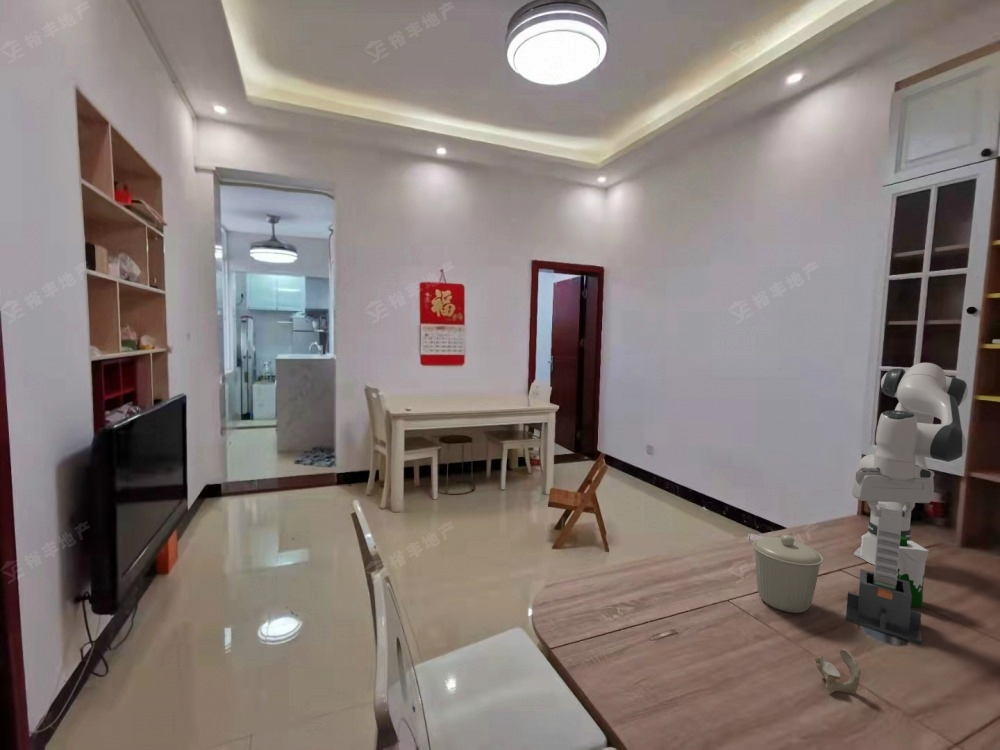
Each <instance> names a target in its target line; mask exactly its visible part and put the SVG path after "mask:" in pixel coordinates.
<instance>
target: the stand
mask: <svg viewBox="0 0 1000 750" xmlns="http://www.w3.org/2000/svg"><path fill="white" fill-rule="evenodd" d="M859 570H860V571H859V582H858V583H859V585H858V593H855V592H851V591H847V597H846V598H847V599H846V600H847V601H846V611H845V621H847V622H849V623H853V624H856V625H859V626H861V627H865V628H869V629H871V630H875V631H878V632H881V633H882V634H883V633H884V634H886V635H889V636H894V637H896V638H900V639H901V640H905V641H908V642H911V643H915V644H918V645H923V638H922V632H921V617H922V612H920V611H916V610H913V609H912V606H911V601H912V595H911V589H910V583H909V581H905V580H901V579H897V584H896V590H892V589H889V588H885V587H881V586H878V585H874V584H873V580H874V571H870V570H866V569H863V568H860V569H859Z"/></svg>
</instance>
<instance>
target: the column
mask: <svg viewBox="0 0 1000 750" xmlns="http://www.w3.org/2000/svg"><path fill="white" fill-rule="evenodd" d="M879 510H880V511H881V516H880V517H878V529H877V542H876V555H875V565H874V569H873V572H874V580H873V584H874V585H878V586H881V587H885V588H889V589H892V590H896V584H897V571H898V559H899V547H900V535H901V523H902V508H901V507H896V506H890V505H885V504H879Z"/></svg>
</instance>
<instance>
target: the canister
mask: <svg viewBox="0 0 1000 750" xmlns="http://www.w3.org/2000/svg"><path fill="white" fill-rule="evenodd" d="M751 545H752V547H753V549H754V558H755V559H754V561H755V563H754V564H755V576H756V577H755V578H756V588H757V592H758V595H759V597H760V599H761V600H762V601H763V602H764V603H766V605H768V606H770V607H773V608H774V609H777V610H779V611H782V612H786V613H793V614H800V613H805V612H806V611H808V609H810V607H811V605H812V603H813V599H814V594H815V590H816V585H817V582H818V581H817V580H818V576H819V572H820V568H821V564H823V563H824V557H823V556H822V555H821V553H820V552H818V551H816V550H815V549H814V548H812V547H811V546H809V545H807V544H805V543H802V542H800V541H797V540H795V538H794V537H793V536H791V535H789V534H782V535H781V536H780V537H779V536H778V537H777V536H763V537H760V538H757V539H755V540H752V544H751Z"/></svg>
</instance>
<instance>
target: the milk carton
mask: <svg viewBox="0 0 1000 750" xmlns="http://www.w3.org/2000/svg"><path fill="white" fill-rule="evenodd" d="M929 552H930V550H928V549H926V548H925V547H924V546H921V545H920V544H918V543H916V542H915V541H913V540H910V541H908V540H907V538H906V537H904V536H900V547H899V559H898V571H897V579H901V580H905V581H909V583H910V589H911V595H912V601H911V608H912V607H913V608H921V609H922V608H923V603H924V602H923V600H924V598H923V597H924V580H925V569H926V561H927V560H928V555H929Z"/></svg>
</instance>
